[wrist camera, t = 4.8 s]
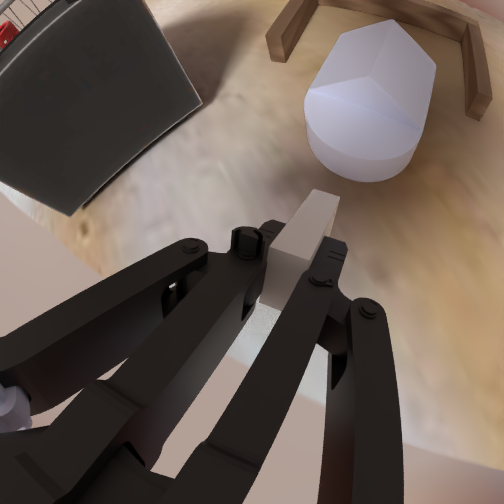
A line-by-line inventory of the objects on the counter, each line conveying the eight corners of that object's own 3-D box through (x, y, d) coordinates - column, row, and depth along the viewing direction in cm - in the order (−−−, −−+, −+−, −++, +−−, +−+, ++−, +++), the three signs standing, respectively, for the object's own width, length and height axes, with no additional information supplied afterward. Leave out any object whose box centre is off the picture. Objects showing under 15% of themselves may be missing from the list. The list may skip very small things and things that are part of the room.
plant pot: (-8, 92, 46) (-36, 69, 34) (22, 51, 48) (-3, 27, 36) (10, 87, 42) (-23, 59, 31) (44, 42, 44) (16, 13, 33)
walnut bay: (471, 41, 22) (477, 21, 19) (479, 121, 20) (492, 98, 17) (310, -2, 28) (307, -23, 25) (271, 61, 26) (265, 35, 23)
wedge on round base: (341, 58, 25) (289, 157, 23) (340, 5, 18) (276, 101, 17) (428, 89, 22) (398, 200, 21) (444, 38, 16) (423, 154, 14)
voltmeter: (145, 53, 31) (68, -58, 12) (208, 112, 26) (101, -71, 7) (51, 135, 32) (-50, 53, 13) (79, 222, 26) (-90, 128, 7)
